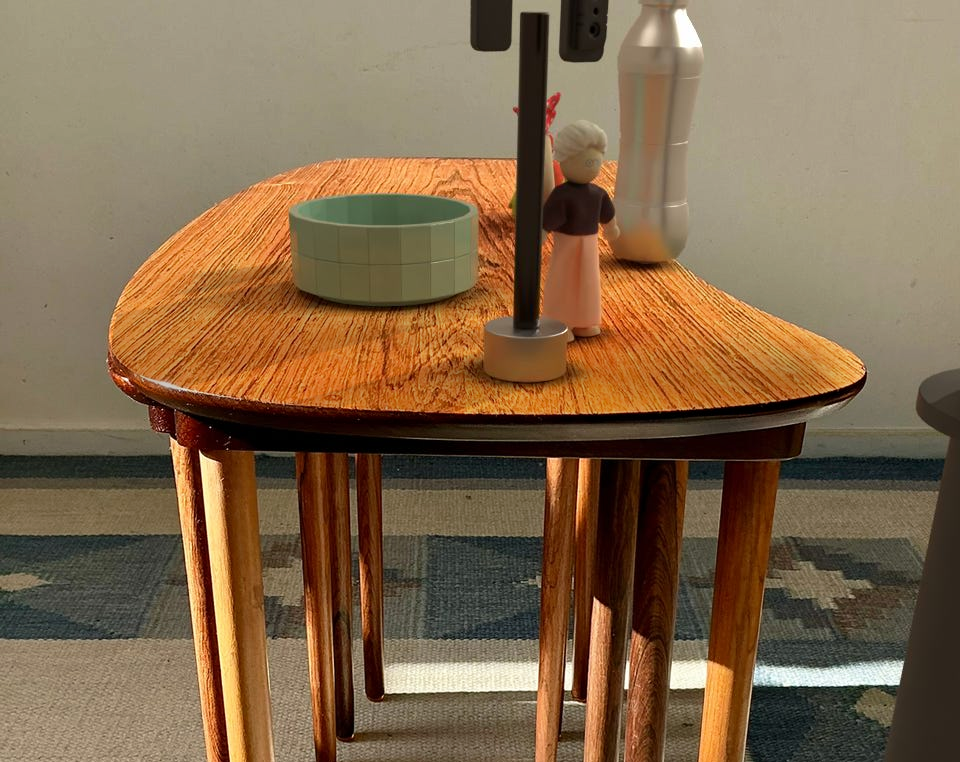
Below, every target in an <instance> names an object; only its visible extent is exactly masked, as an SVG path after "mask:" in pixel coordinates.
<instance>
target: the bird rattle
mask: <svg viewBox="0 0 960 762" xmlns="http://www.w3.org/2000/svg"><path fill="white" fill-rule="evenodd" d="M562 97H563V96H562V93H561V92H560V91H558V92H556V93H554V94H553V95H551V96H550V97H548V98H547V107H546V137H545V166H544V196H543V206H544V204H545V202H546V200H547V199H548V197H549V195H550V194H551V192H552V191H553V189H554V188H555V186H558V185H560V184H562V183H564V182H566V181H567V179H566V178H565V177H564V176H563V174H562V172H561V170H560V164H559V162H557V161H556V160H555V159H554V158H553V154H554V152H555V151H554V150H553V143H554V141H555V139H554V136H553V134H552V133H551V132H550V131H549V128H550V127H551V125H552V124H553V122H554V120H555V118H556V116H557V110H556V109H555V108H556V107H557V106H558V104H559V102H560V101H561V98H562ZM512 111H513V113H515V114H516V115H517V117H518V106H513V107H512ZM507 207H508V209H510V210H511V212H512V213H511V214H512V216H513V217H514V218H515V214H516V190H515V191H514V193H513V195H512V197H511V199H510V201H509V203H508V206H507Z"/></svg>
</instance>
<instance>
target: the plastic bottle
mask: <svg viewBox="0 0 960 762" xmlns="http://www.w3.org/2000/svg"><path fill="white" fill-rule="evenodd" d="M637 4H638V5H641V10H640V14H639V16H638V17H637V18H636V20H635V21H634V22H633V24H632V26H631V27H630V28H629V30H628V31H627V33H626V35H625V37H624V38H623V40H622V42H621V43H620V47H619V50H618V53H617V55H616V56H617V58H616V62H617V64H616V68H617V72H618V74H617V85H618V99H619V100H618V101H619V133H620V138H619V150H618V151H619V152H618V159H617V166H616V167H617V168H616V175H615V182H614V189H613V198H612V199H611V201H612V203H613V205H614V208H615V217H616V225H617V227H618V228H619V231H620V234H619V237H618V238H617V239H616V240H613V241H608V240H607V244H608V247H609V248H610V250H611V252H612V255H614V256H615V257H617V258H620V259H624V260H628V261H630V262H635V263H639V264H645V265H646V264H647V265H648V264H653V263H654V264H655V263H661V262H665V261H671V260H675V259H677V258H678V257H680V255H681V254H682V252H683V251H684V249H685V248H686V244H687V241H688V236H689V233H690V232H689V231H690V209H689V202H688V199H687V197H688V155H689V153H688V152H689V146H690V140H689V139H690V135H691V132H692V124H693V115H694V109H695V105H696V101H697V96H698V92H699V86H700V82H701V77H702V76H701V73H702V72H703V66H704V60H705V56H704V51H703V44H702V42H701V40H700V37H699V36H698V34H697V31H696V29H695V27H694V25H693V24H692V22H691V20H690V19H689V16H688V15H687V14H688V13H687V6H688V5H691V4H692V0H637Z"/></svg>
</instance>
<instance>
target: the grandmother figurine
mask: <svg viewBox="0 0 960 762" xmlns="http://www.w3.org/2000/svg"><path fill="white" fill-rule="evenodd" d="M608 144H609V140H608V136H607V134H606V133H605V130H604V129H602V128H600V127H599V126H598V125H597V124H595V123H593V122H590V121H588V120H587V119H579V120H575V121H574V122H571V123H568V124H567V125H566V126H564V127H563V128H562V129H561V130H559V131H557V133H556V137H555V139H554V143H553V150H554V151H553V160H554V161H556V162H557V163H558V164H559V165H560V170H561V172H562V174H563V176H564V177H565V178H566V179H567V181H566V182H564V183H562V184H560V185H558V186H555V188H554V189H553V191H552V192H551V194H550V195H549V197H548V199H547V200H546V202H545V204H544V206H543V226H542V246H544V245H545V244H546V242H547V240H548V238H549V235H550V234H551V233H552V243H553V244H552V248H551V251H550V257H549V260H548V266H547V270H546V274H545V277H544V283H543V295H542V309H541V317H547V318H552V319H556V320H558V321H561V322H563V323H565V324H566V325H567V327H568V339H567V343H572V342H573V341H575V336H577V337H584V338H585V337H586V338H587V337H593V336H597V335H600V334H601V328H600V325H602V315H603V314H602V310H603V308H602V306H603V305H602V287H601V285H602V284H601V274H600V254H599V241H598V238H599V237H598V236H599V230H600V229H599V228H600V227H601V229H602V234H603V238H604V239H605V240H606V241H607V242H608V241H613V240H616V239H617V238H618V237H619V234H620V231H619V228H618V227H617V225H616V217H615V208H614V205H613V203H612V199H611V197H610V195H609V193H608V191H607V190H606V189H605V188H604V187H601V186H599V185H598V184H596V183H593V181H594V180H595V179H597V177H599V174H600V172H601V171H602V167H603V158H604V157H605V154H606V153H607V151H608ZM599 225H600V227H599Z"/></svg>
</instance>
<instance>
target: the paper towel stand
mask: <svg viewBox="0 0 960 762" xmlns="http://www.w3.org/2000/svg"><path fill="white" fill-rule="evenodd" d="M550 16H551V15H550V12H549V11H521V12H520V13H519V44H518V45H519V49H518V50H519V51H518V85H517V86H518V89H517V90H518V91H517V92H518V93H517V99H518V100H517V107H518V116H517V133H516V135H517V136H516V171H515V172H516V176H515V177H516V179H515V180H516V181H515V191H516V214H515V217H514V218H515V219H514V220H515V222H514V257H513V258H514V259H513V260H514V261H513V262H514V263H513V265H514V266H513V300H512V301H513V302H512V303H513V305H512V307H513V309H512V315H507V316H501V317H497V318H496V317H495V318H493V319H491V320H489V321H486V323H485V324H484V325H483V372H484V373H485V374H486V375H487V376H489V377H491V378H494V379H497V380H501V381H506V382H511V383H512V382H513V383H541V382H548V381H552V380H556V379H558V378H561V377H563V376H565V374H566V372H567V361H568V360H567V358H568V342H567V339H568V327H567V325H566V324H565V323H563V322H561V321H558V320H556V319H552V318H547V317H542V316H541V315H540V313H541V309H540V308H541V285H542V283H541V281H542V257H543V255H542V253H543V252H542V251H543V245H542V226H543V196H544V166H545V137H546V107H547V100H548V77H549V76H548V75H549V74H548V71H549V45H550V43H549V42H550V18H551V17H550Z"/></svg>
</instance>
